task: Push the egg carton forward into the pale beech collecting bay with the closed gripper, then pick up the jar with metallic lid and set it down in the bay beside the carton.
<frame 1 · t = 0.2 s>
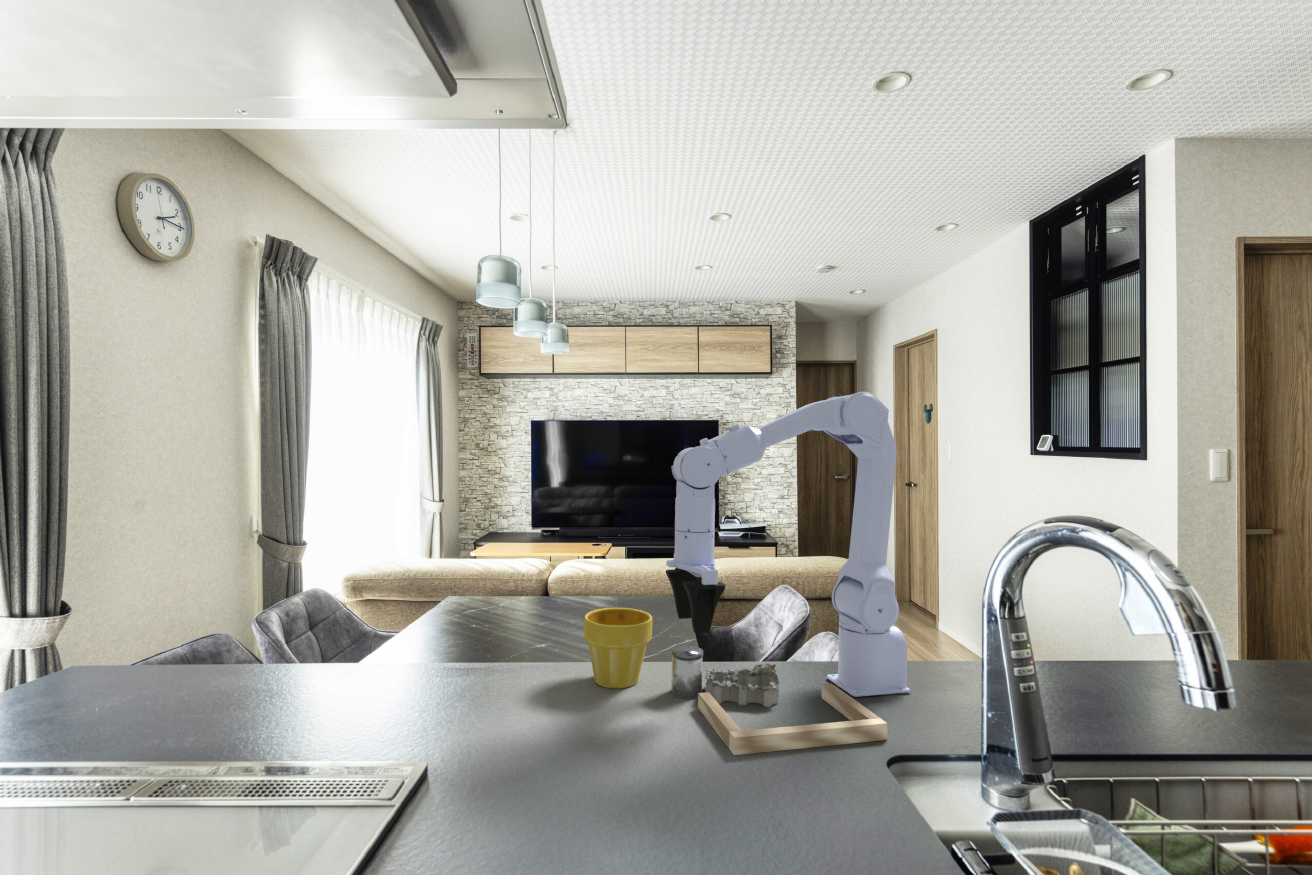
hand: (693, 624, 90), 10 cm above the worktop, tool pointing down, fingers open, 7 cm apart
egg carton: (741, 698, 90), on the worktop
plant pot: (616, 682, 95), on the worktop
beech bay: (785, 720, 82), on the worktop
jar with metallic lid: (686, 692, 90), on the worktop
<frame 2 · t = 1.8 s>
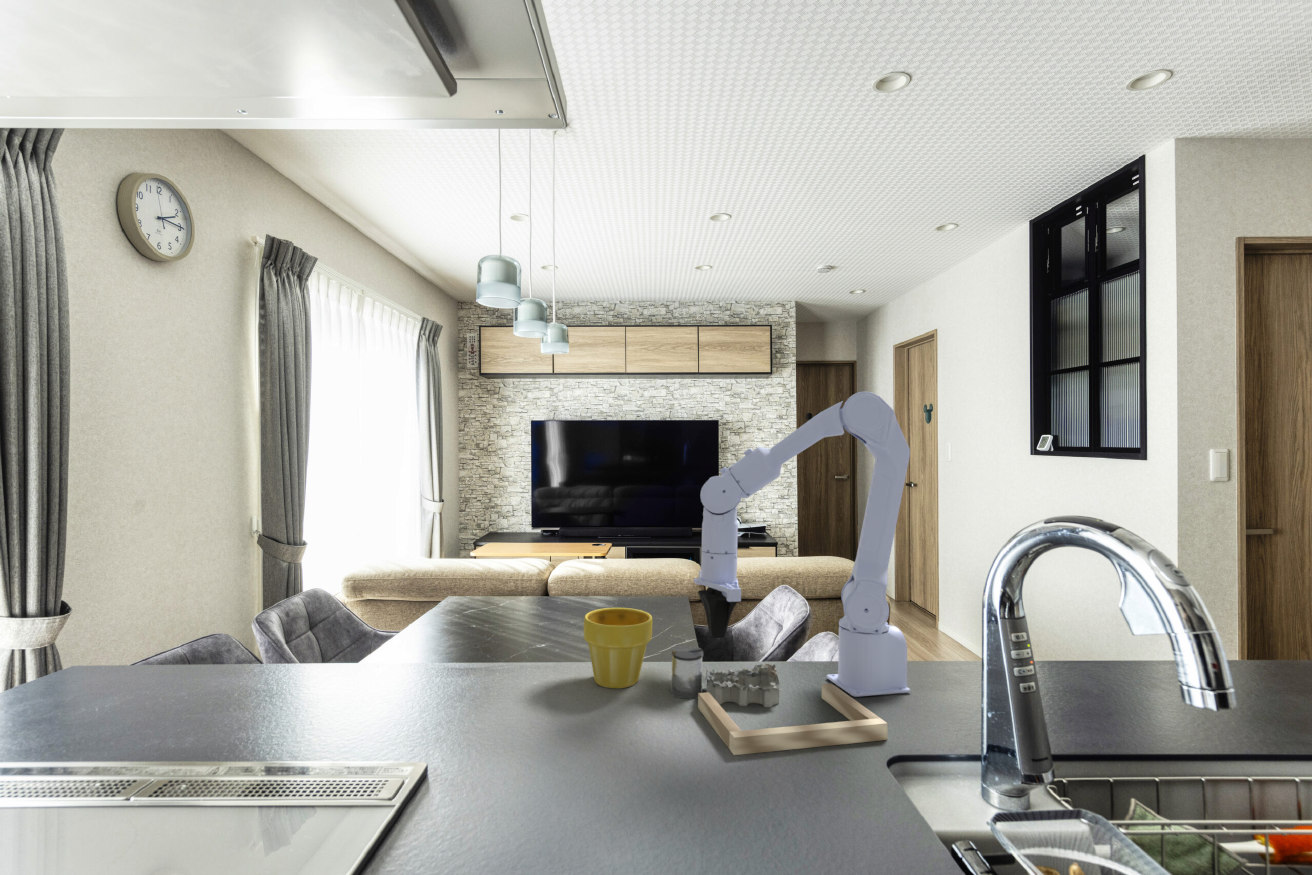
hand: (717, 636, 100), 5 cm above the worktop, tool pointing down, fingers closed
nothing on the worktop moved.
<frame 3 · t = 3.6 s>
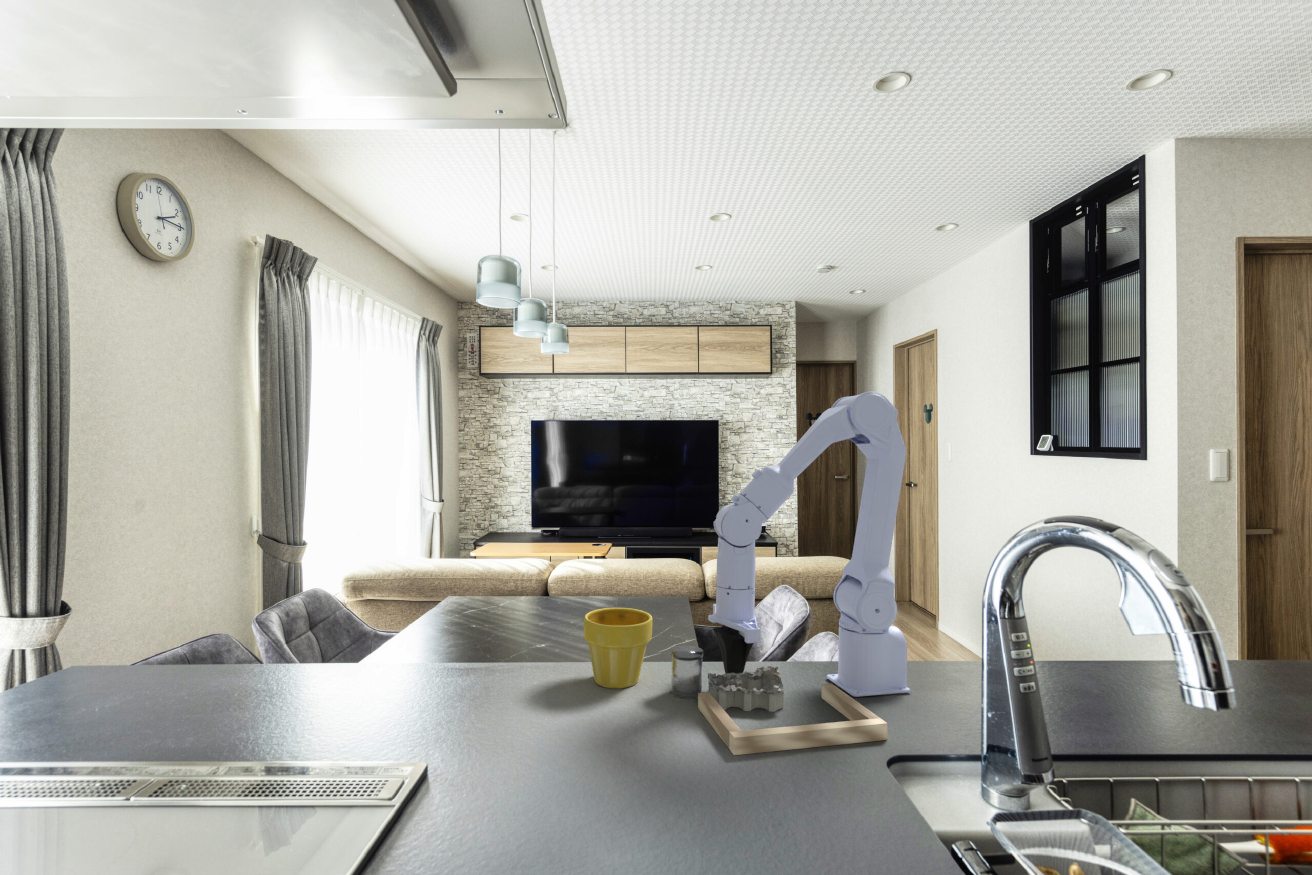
hand: (733, 677, 93), 1 cm above the worktop, tool pointing down, fingers closed
egg carton: (745, 703, 88), on the worktop, touching gripper
everything else where it was.
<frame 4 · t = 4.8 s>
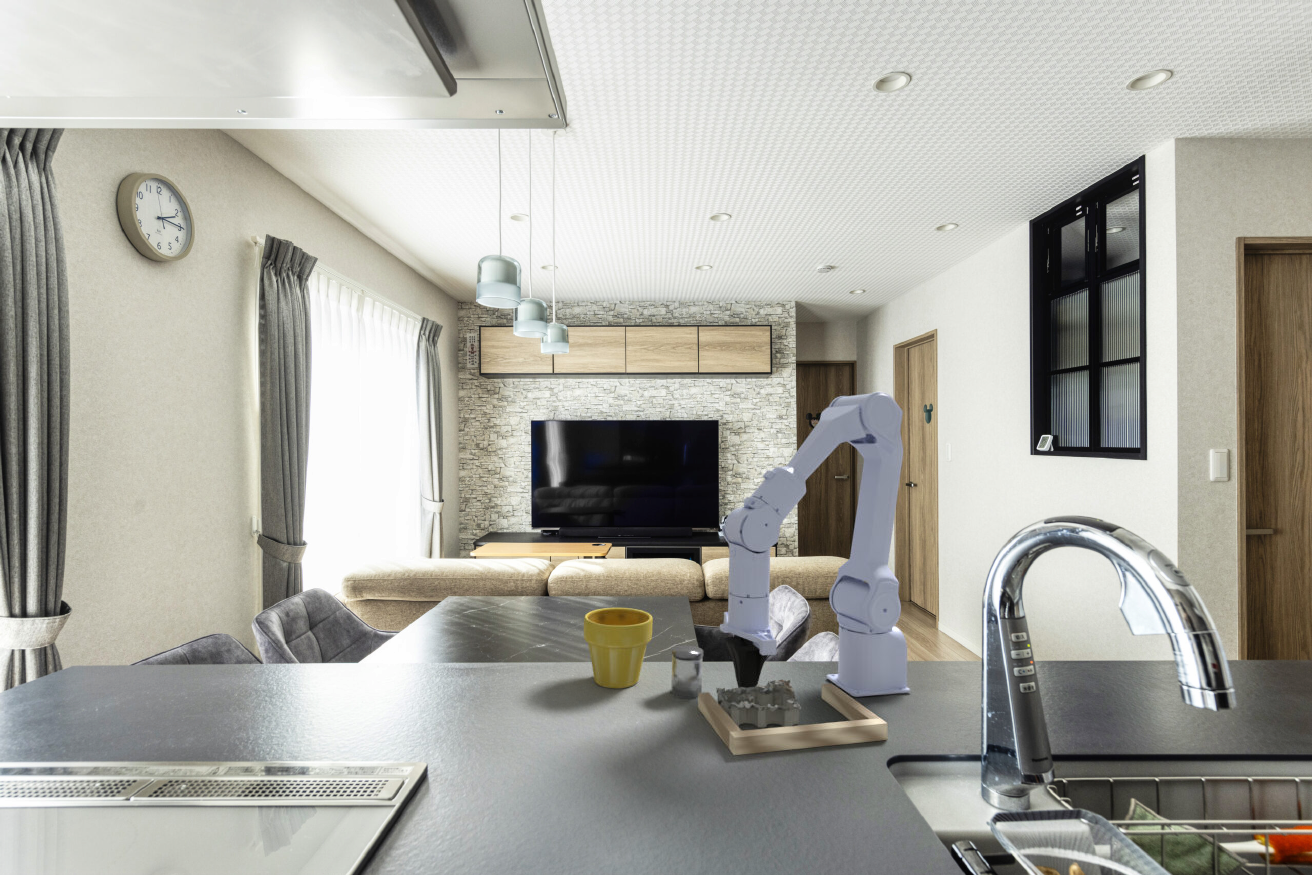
hand: (747, 690, 88), 1 cm above the worktop, tool pointing down, fingers closed
egg carton: (757, 719, 83), on the worktop
everything else where it was.
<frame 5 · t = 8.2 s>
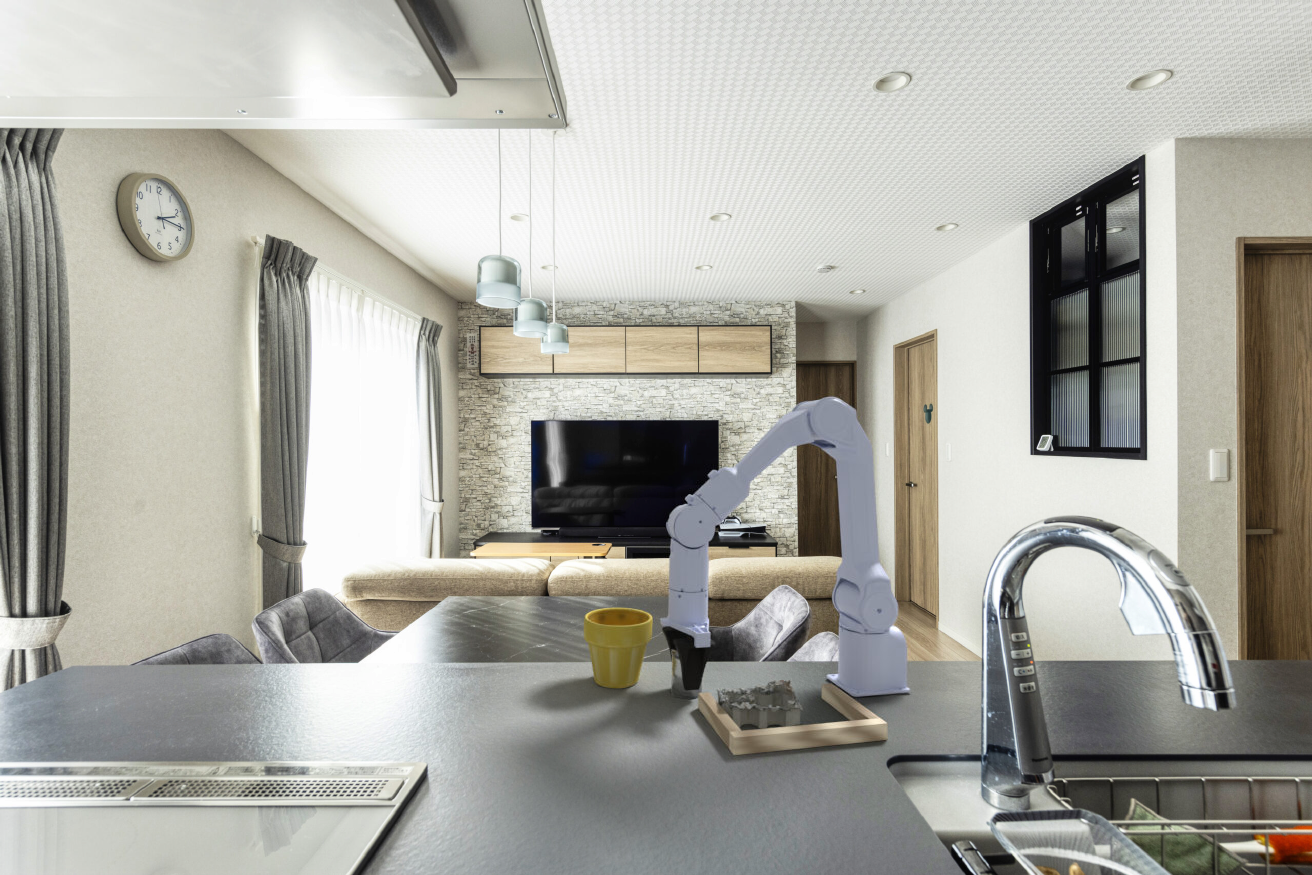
hand: (686, 682, 91), 1 cm above the worktop, tool pointing down, fingers closed on jar with metallic lid, 4 cm apart
jar with metallic lid: (686, 692, 90), on the worktop, touching gripper
everything else where it was.
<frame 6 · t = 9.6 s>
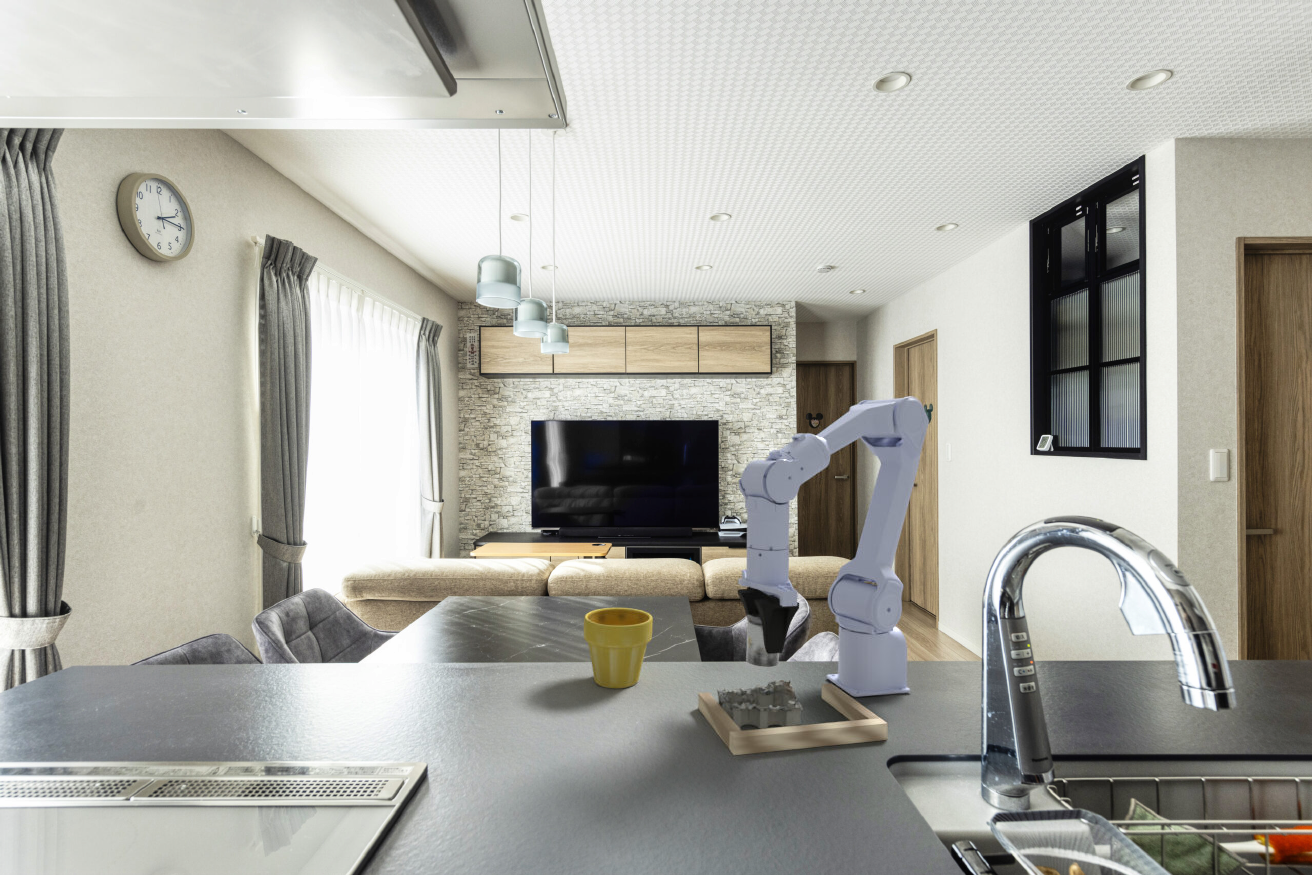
hand: (766, 646, 86), 8 cm above the worktop, tool pointing down, fingers closed on jar with metallic lid, 4 cm apart
jar with metallic lid: (762, 661, 86), point 6 cm above the worktop, touching gripper
everything else where it was.
when the fingers open (3 cm above the worktop, at t = 11.5 s): jar with metallic lid stays where it is, on the worktop.
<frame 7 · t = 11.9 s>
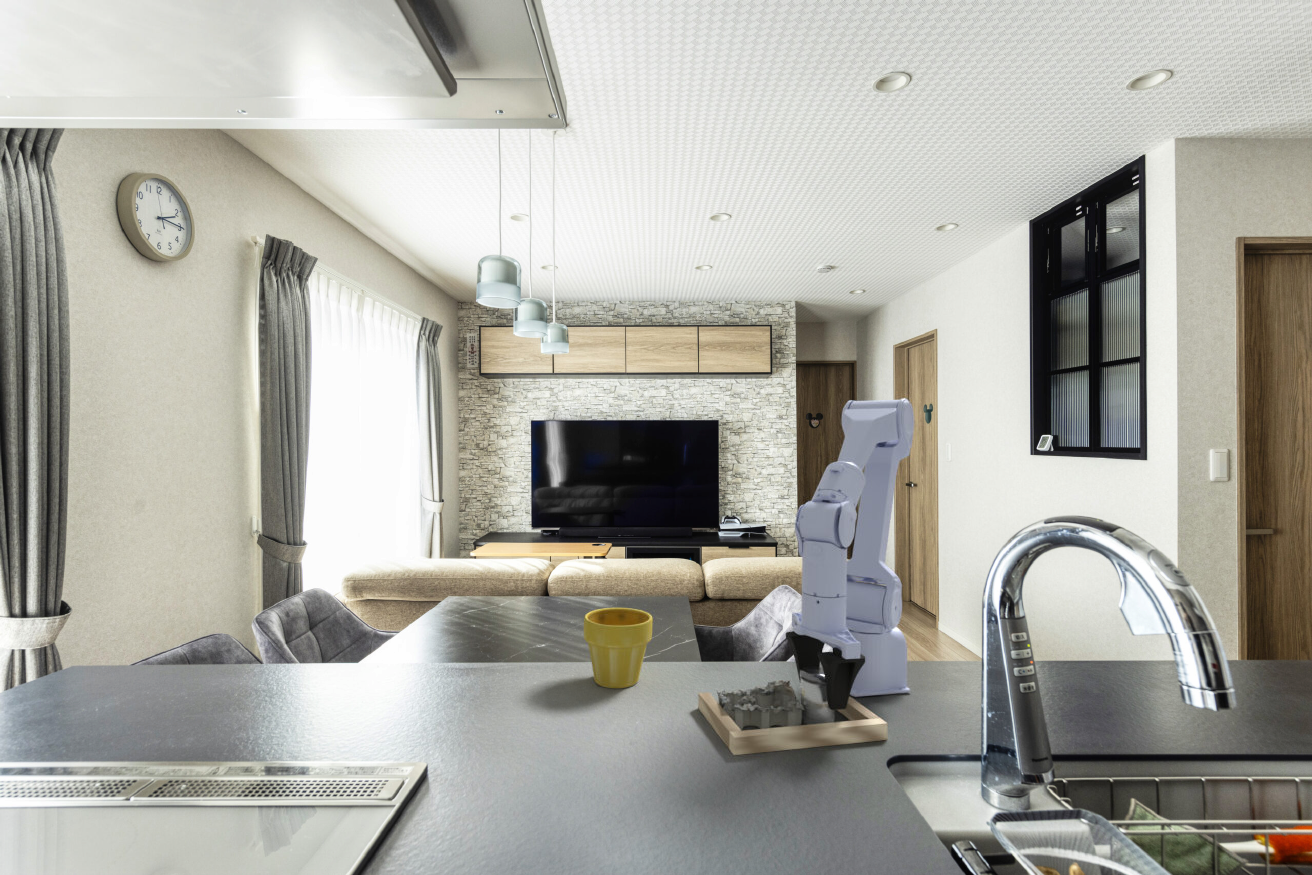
hand: (822, 696, 82), 3 cm above the worktop, tool pointing down, fingers open, 7 cm apart
jar with metallic lid: (816, 719, 82), on the worktop
everything else where it was.
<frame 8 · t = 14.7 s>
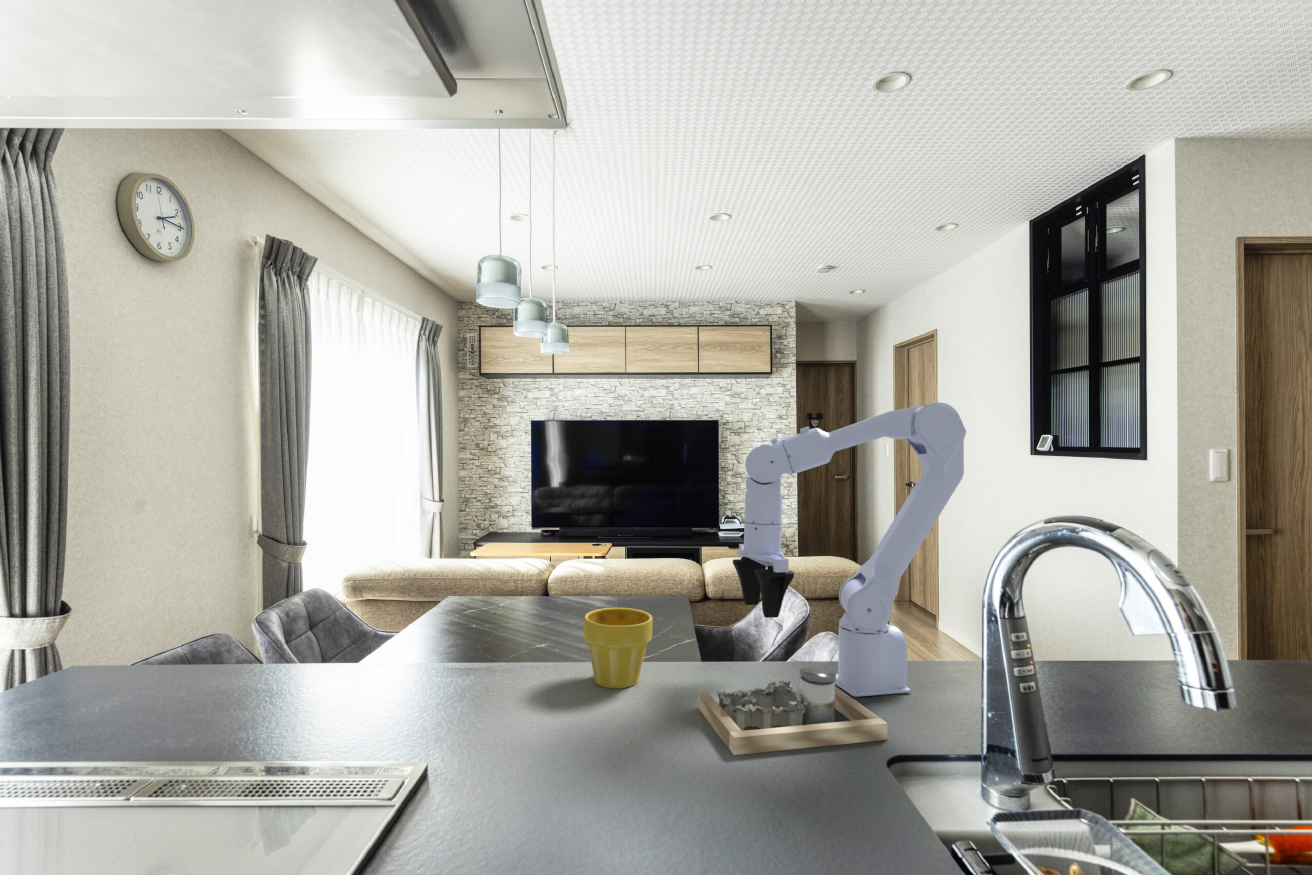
hand: (760, 610, 97), 10 cm above the worktop, tool pointing down, fingers open, 7 cm apart
nothing on the worktop moved.
at the end: egg carton inside the target area (2.0 cm from its centre), on the worktop; jar with metallic lid inside the target area (0.4 cm from its centre), on the worktop; jar with metallic lid tilted 0° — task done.
